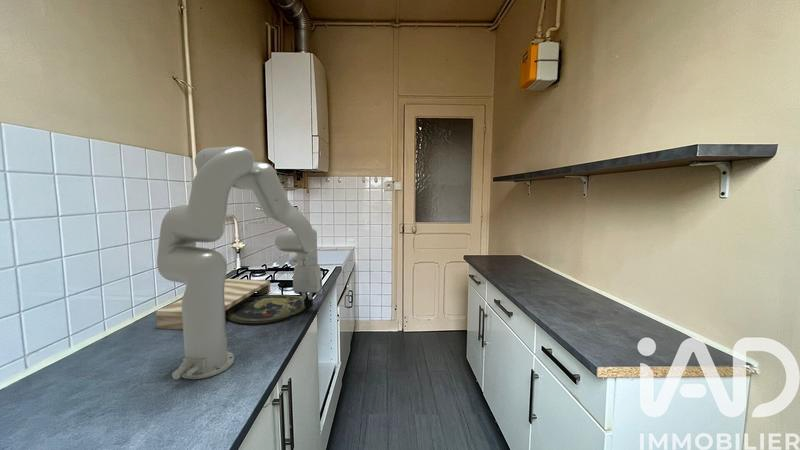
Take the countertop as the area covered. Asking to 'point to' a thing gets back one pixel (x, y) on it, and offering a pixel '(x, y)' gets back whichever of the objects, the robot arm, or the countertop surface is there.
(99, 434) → the countertop surface
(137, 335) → the countertop surface
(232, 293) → the low shelf
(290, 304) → the decorative plate
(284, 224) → the robot arm
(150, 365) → the countertop surface
